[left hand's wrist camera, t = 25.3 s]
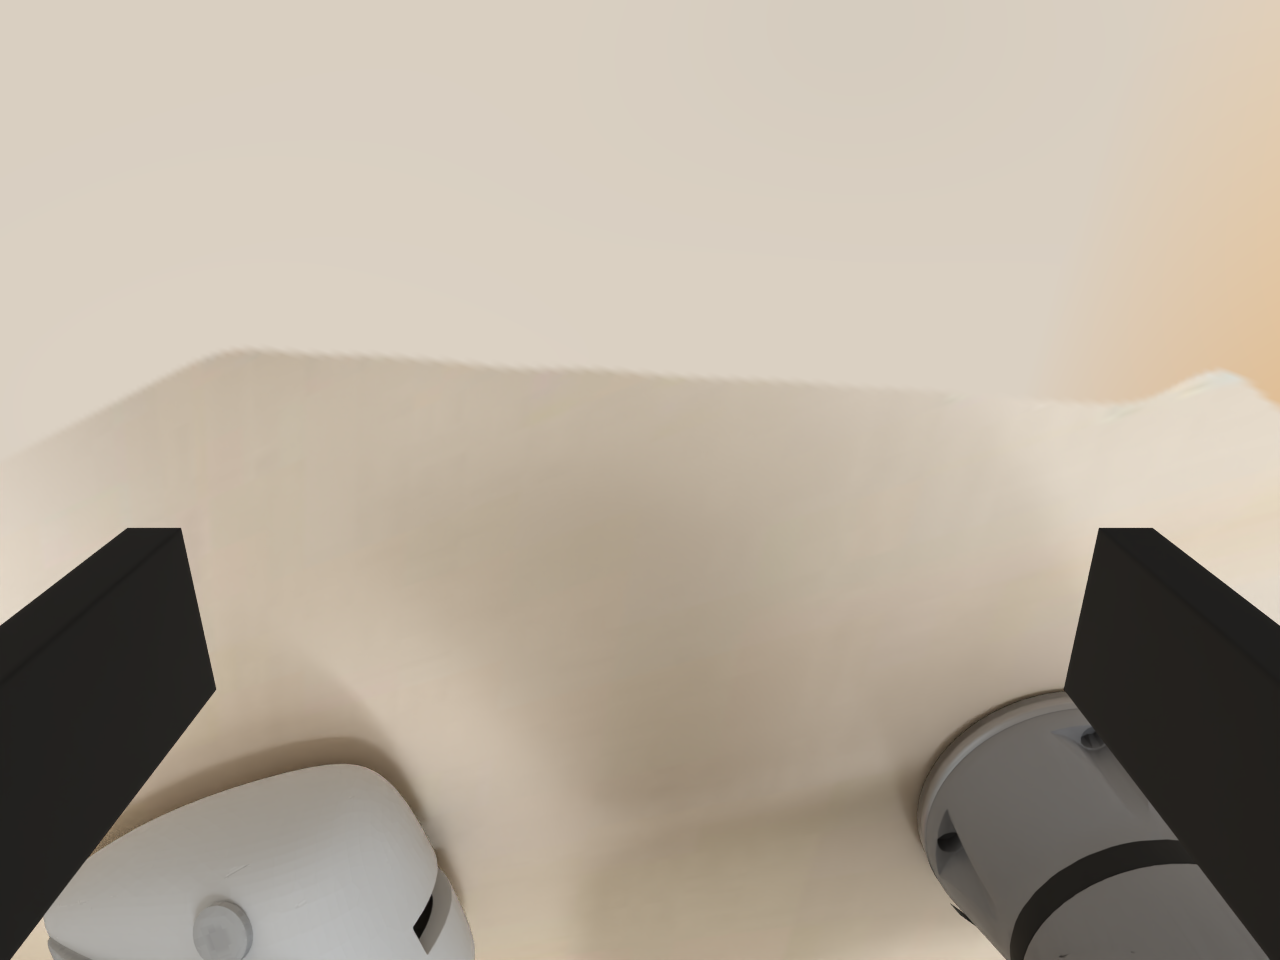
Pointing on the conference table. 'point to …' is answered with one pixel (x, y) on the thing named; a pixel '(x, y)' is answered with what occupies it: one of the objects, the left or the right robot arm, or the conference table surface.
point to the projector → (268, 880)
